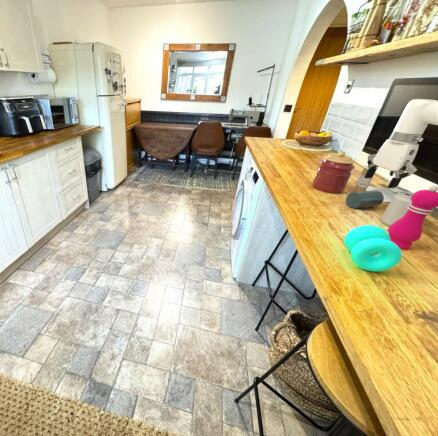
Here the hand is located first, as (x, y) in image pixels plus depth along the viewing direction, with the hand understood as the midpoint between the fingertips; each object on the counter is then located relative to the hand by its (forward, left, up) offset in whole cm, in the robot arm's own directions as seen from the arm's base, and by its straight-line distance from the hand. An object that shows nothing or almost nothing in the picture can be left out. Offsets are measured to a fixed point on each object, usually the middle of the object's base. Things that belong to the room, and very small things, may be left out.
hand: (379, 182), depth 94 cm
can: (+4, +14, -11) cm, 18 cm away
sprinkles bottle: (-9, -13, -11) cm, 19 cm away
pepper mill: (+15, +25, -11) cm, 31 cm away
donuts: (+34, +31, -11) cm, 47 cm away
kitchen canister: (+2, -19, -11) cm, 22 cm away
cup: (+8, 0, -7) cm, 11 cm away
